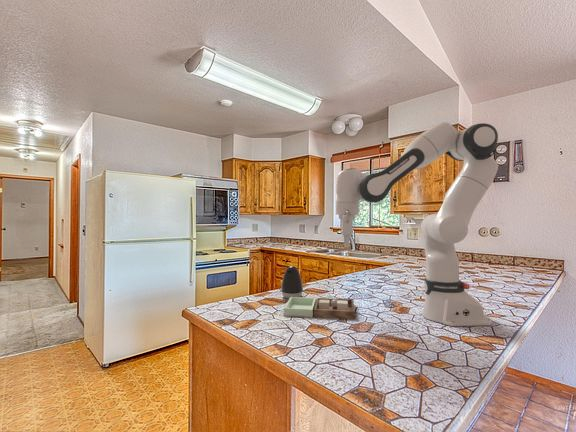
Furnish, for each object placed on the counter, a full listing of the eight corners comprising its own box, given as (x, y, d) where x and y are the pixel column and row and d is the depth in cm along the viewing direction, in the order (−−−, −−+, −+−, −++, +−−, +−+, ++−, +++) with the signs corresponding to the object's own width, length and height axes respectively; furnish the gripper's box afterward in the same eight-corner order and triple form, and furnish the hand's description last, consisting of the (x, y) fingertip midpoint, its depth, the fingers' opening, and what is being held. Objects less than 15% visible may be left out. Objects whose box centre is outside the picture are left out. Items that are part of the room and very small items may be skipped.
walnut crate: (353, 307, 125) (353, 299, 125) (355, 321, 110) (355, 311, 110) (317, 306, 128) (317, 297, 128) (314, 319, 112) (313, 309, 112)
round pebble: (339, 306, 125) (339, 298, 125) (339, 309, 121) (339, 300, 121) (330, 306, 125) (330, 297, 125) (330, 308, 122) (330, 300, 122)
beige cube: (329, 309, 120) (329, 300, 120) (329, 313, 116) (329, 302, 116) (319, 309, 121) (319, 299, 121) (318, 312, 117) (318, 302, 117)
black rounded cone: (277, 300, 137) (277, 267, 137) (286, 294, 147) (285, 263, 147) (298, 302, 133) (298, 268, 133) (306, 296, 143) (305, 264, 143)
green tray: (316, 306, 128) (316, 297, 128) (312, 319, 112) (312, 309, 112) (290, 304, 130) (290, 296, 130) (283, 317, 114) (283, 308, 114)
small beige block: (347, 310, 119) (347, 300, 119) (347, 314, 115) (347, 303, 115) (337, 310, 120) (337, 300, 120) (337, 313, 116) (337, 303, 116)
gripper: (357, 210, 106) (356, 249, 107) (354, 210, 127) (353, 243, 127) (338, 210, 107) (338, 248, 108) (339, 210, 128) (338, 243, 128)
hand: (346, 245), depth 117 cm, fingers open, 8 cm apart
